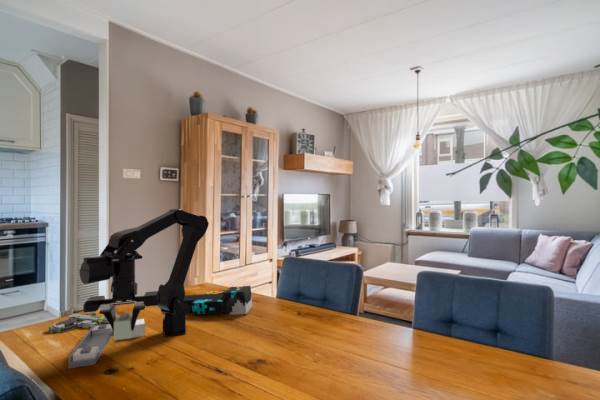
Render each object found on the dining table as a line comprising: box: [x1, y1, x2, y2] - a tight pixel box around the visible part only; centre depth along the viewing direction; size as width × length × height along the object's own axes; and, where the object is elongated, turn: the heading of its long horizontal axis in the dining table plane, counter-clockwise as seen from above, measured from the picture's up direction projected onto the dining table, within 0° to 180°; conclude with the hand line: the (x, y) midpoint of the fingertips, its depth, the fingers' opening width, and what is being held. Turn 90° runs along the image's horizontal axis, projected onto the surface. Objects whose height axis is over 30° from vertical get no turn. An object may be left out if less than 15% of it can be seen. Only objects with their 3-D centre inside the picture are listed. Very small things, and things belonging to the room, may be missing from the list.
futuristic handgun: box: [48, 312, 110, 335], centre depth 112 cm, size 3×19×15 cm
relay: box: [128, 318, 146, 340], centre depth 105 cm, size 5×5×4 cm
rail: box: [67, 324, 114, 369], centre depth 96 cm, size 6×22×3 cm, turn 18°
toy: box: [184, 285, 253, 316], centre depth 128 cm, size 15×8×30 cm
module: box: [113, 312, 134, 341], centre depth 93 cm, size 4×6×5 cm, turn 18°
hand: (124, 331), depth 93 cm, fingers closed on module, 4 cm apart
